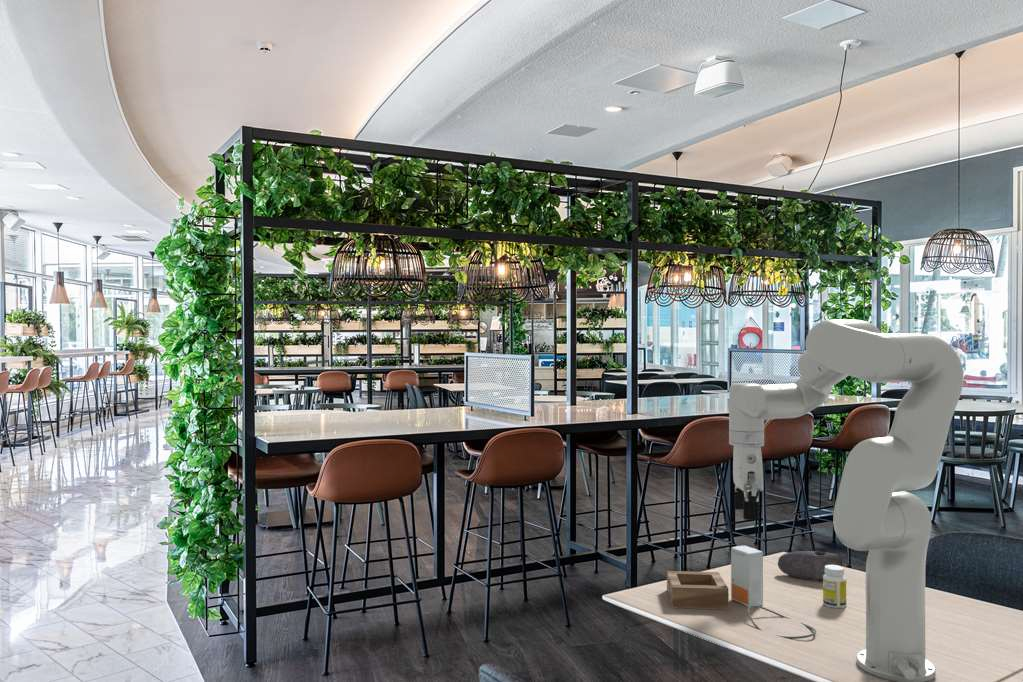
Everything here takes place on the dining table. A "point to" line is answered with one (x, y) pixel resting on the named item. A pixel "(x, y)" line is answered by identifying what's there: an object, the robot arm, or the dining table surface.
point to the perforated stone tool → (808, 563)
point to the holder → (697, 590)
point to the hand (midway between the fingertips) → (746, 514)
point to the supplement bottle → (834, 587)
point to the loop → (781, 616)
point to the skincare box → (747, 575)
